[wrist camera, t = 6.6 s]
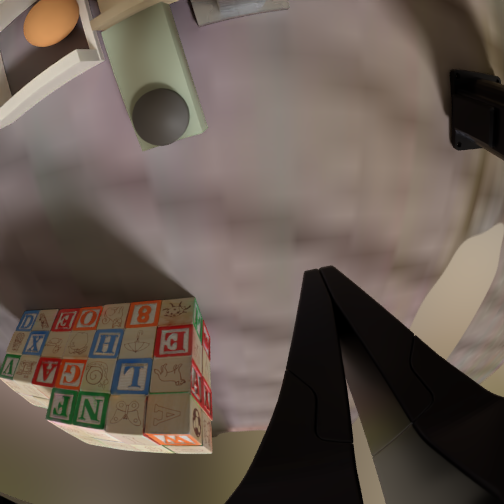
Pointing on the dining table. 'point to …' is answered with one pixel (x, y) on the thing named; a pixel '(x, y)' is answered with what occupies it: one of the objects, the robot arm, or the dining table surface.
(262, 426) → the dining table surface
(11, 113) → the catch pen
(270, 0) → the fulcrum
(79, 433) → the stack of blocks
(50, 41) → the ball
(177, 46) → the lever
